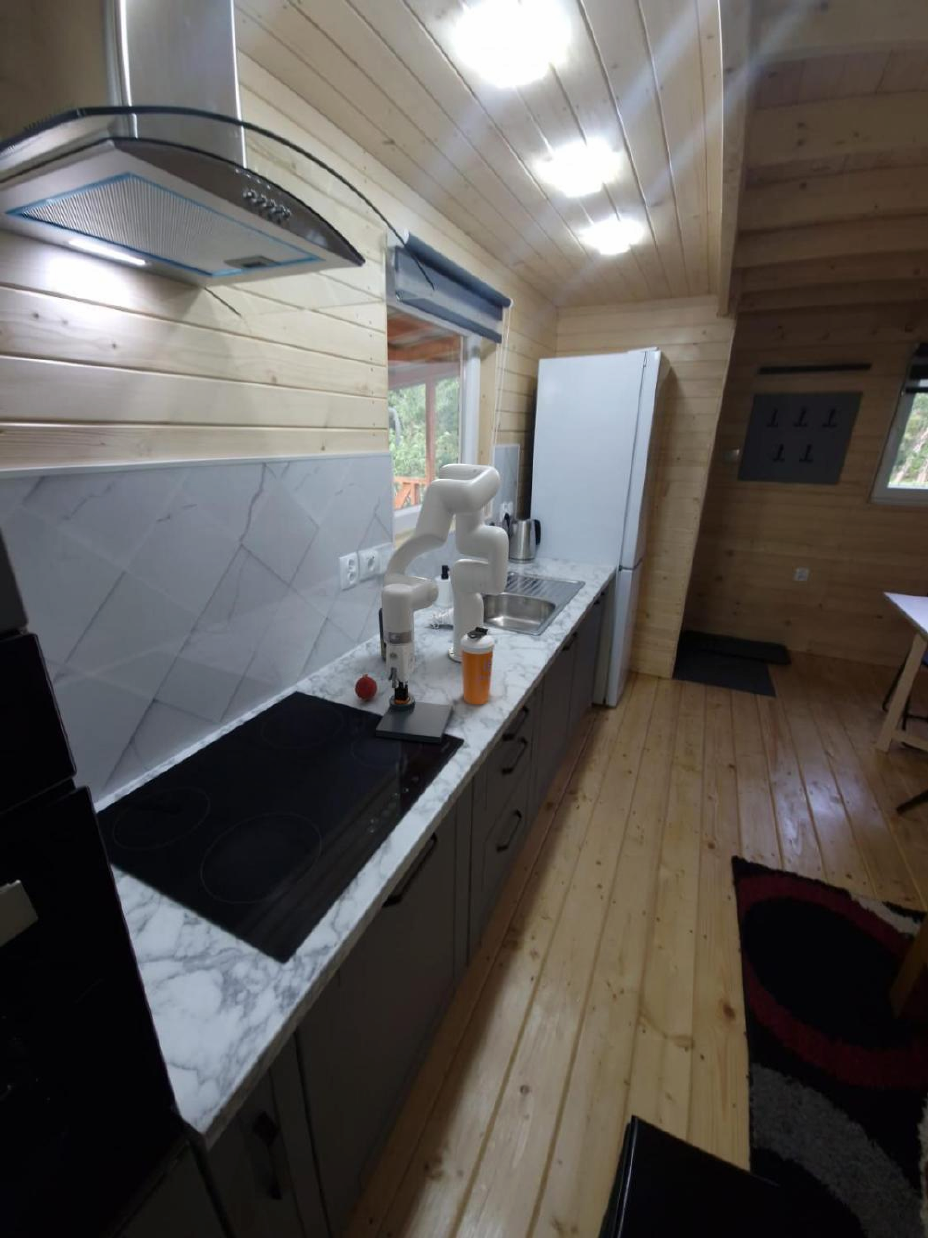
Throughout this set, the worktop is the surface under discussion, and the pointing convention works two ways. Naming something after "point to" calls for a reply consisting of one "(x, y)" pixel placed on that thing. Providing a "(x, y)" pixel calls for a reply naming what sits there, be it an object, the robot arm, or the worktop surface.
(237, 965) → the worktop surface
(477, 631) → the shaker bottle
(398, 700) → the button
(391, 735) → the scale
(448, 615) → the rocket engine
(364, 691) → the onion
